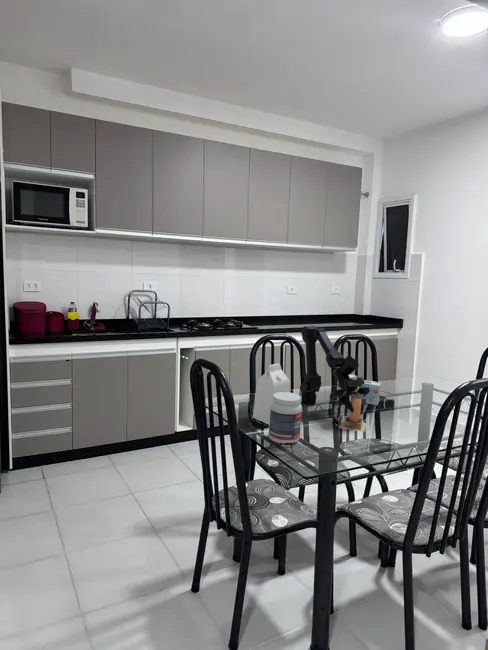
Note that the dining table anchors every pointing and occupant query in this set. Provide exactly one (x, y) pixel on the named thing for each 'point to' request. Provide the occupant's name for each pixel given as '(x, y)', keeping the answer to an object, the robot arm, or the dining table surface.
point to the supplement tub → (285, 418)
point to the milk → (269, 391)
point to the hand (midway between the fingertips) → (357, 411)
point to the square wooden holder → (352, 425)
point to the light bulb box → (371, 392)
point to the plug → (355, 407)
